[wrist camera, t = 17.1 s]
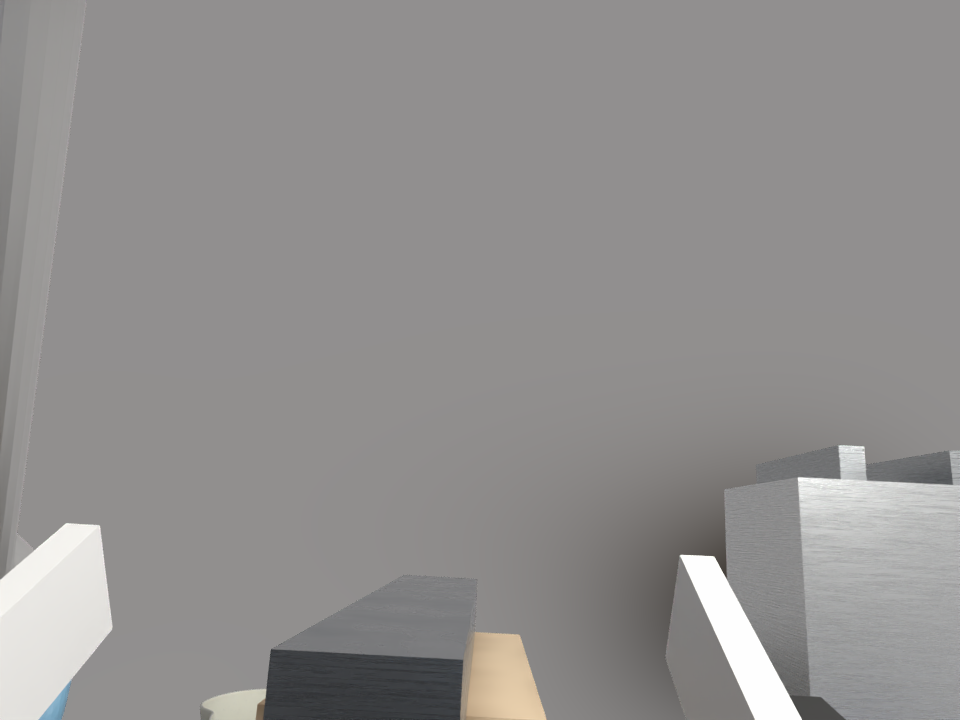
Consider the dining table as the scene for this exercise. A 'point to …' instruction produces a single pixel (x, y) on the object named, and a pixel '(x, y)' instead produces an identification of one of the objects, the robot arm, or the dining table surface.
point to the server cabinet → (854, 578)
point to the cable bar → (381, 657)
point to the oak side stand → (495, 681)
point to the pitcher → (233, 705)
